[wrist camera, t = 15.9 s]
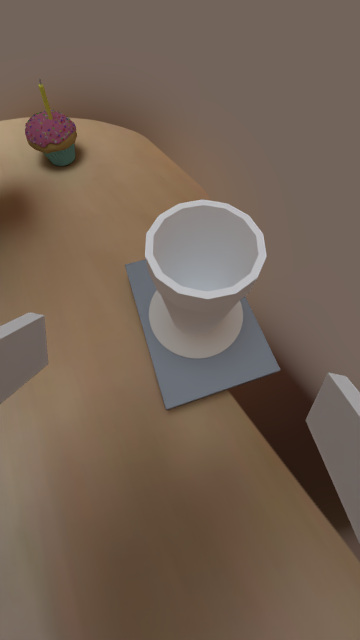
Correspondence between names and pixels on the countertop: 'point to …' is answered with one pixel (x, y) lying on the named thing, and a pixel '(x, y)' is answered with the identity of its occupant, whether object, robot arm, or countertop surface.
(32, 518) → the countertop surface
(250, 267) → the foam cup
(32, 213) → the countertop surface
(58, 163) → the cupcake
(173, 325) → the pedestal
